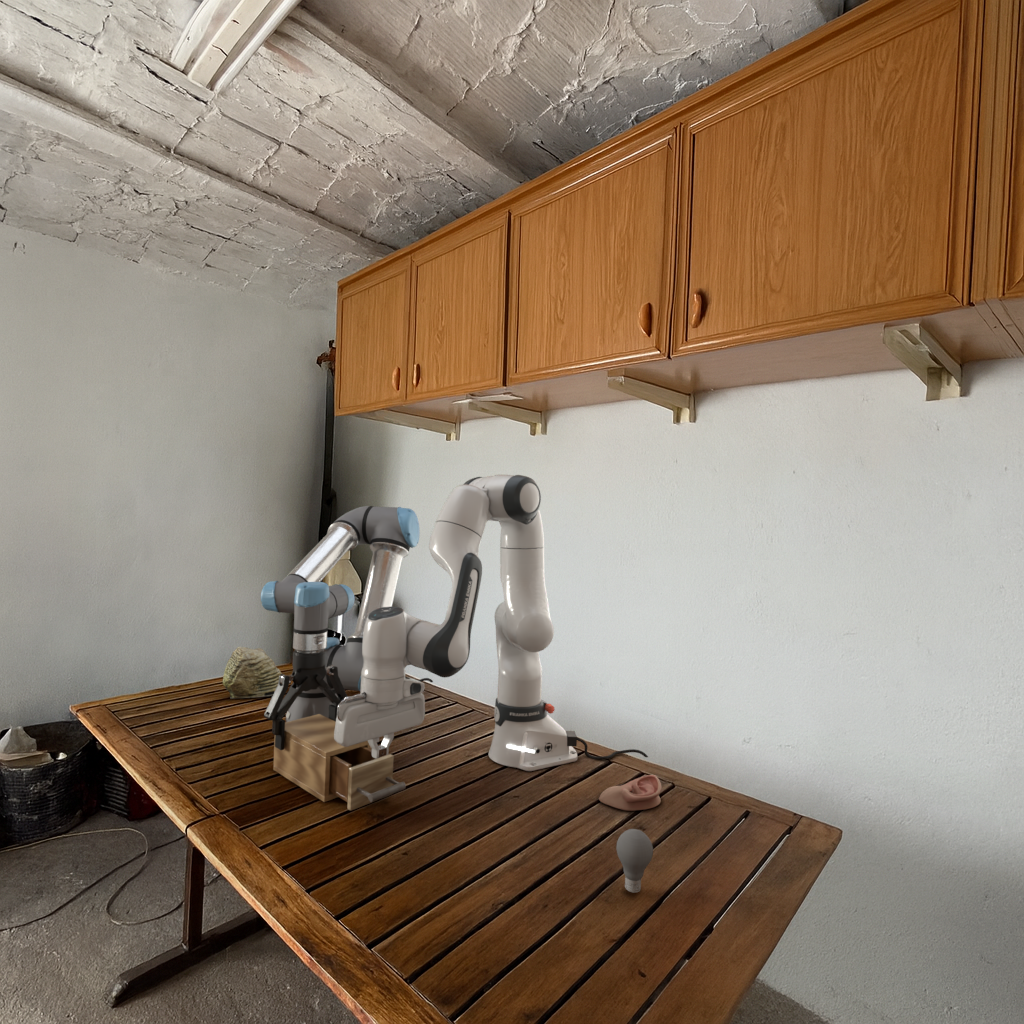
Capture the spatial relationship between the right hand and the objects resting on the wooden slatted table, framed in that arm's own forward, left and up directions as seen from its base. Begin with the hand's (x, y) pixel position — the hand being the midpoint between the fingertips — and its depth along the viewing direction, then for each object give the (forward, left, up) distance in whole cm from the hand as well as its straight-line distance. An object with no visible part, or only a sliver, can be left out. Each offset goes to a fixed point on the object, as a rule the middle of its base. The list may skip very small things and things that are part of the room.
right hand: (379, 756), depth 129 cm
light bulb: (-37, +38, -11) cm, 54 cm away
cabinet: (+10, -19, -11) cm, 24 cm away
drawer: (+4, -8, -10) cm, 14 cm away
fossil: (+26, -84, -11) cm, 88 cm away
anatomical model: (-53, +9, -11) cm, 55 cm away
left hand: (+13, -25, -5) cm, 28 cm away
